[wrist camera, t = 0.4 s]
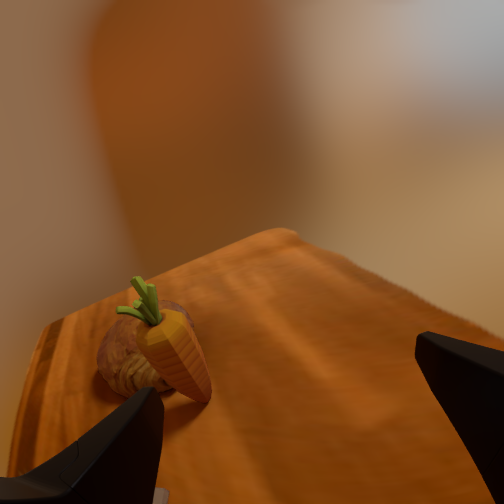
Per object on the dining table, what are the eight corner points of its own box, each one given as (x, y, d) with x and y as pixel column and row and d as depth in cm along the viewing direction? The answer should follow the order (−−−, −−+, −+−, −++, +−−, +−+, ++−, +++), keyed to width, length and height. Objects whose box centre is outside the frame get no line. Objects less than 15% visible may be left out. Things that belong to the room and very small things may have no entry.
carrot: (224, 421, 25) (146, 299, 19) (180, 418, 26) (96, 305, 20) (234, 382, 29) (172, 261, 23) (192, 383, 30) (126, 271, 24)
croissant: (196, 323, 45) (176, 278, 43) (216, 379, 30) (187, 320, 28) (116, 355, 42) (92, 313, 39) (106, 418, 27) (68, 366, 25)
